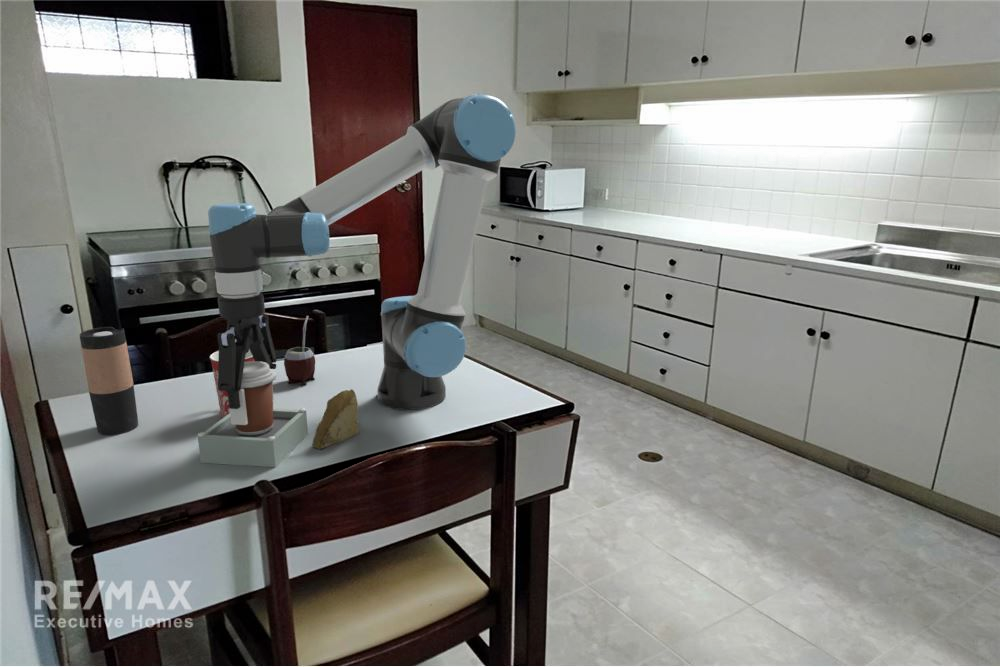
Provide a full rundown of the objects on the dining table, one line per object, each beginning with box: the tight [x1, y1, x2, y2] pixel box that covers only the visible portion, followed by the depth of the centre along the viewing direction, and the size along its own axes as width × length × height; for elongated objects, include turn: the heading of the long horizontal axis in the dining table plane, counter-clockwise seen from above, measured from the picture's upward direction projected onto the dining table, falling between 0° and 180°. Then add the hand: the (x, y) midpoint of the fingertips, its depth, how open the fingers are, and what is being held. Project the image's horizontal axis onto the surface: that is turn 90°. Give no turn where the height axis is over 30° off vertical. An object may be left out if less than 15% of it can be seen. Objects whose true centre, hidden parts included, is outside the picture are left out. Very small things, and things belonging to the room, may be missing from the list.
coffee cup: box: [224, 361, 277, 436], centre depth 120 cm, size 9×9×12 cm
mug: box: [209, 349, 255, 419], centre depth 138 cm, size 13×9×14 cm
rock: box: [311, 389, 360, 450], centre depth 126 cm, size 11×9×10 cm
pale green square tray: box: [197, 407, 309, 468], centre depth 122 cm, size 14×14×5 cm
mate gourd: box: [283, 315, 316, 387], centre depth 156 cm, size 8×8×15 cm
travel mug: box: [79, 326, 139, 436], centre depth 129 cm, size 8×8×20 cm
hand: (253, 412), depth 121 cm, fingers open, 9 cm apart
